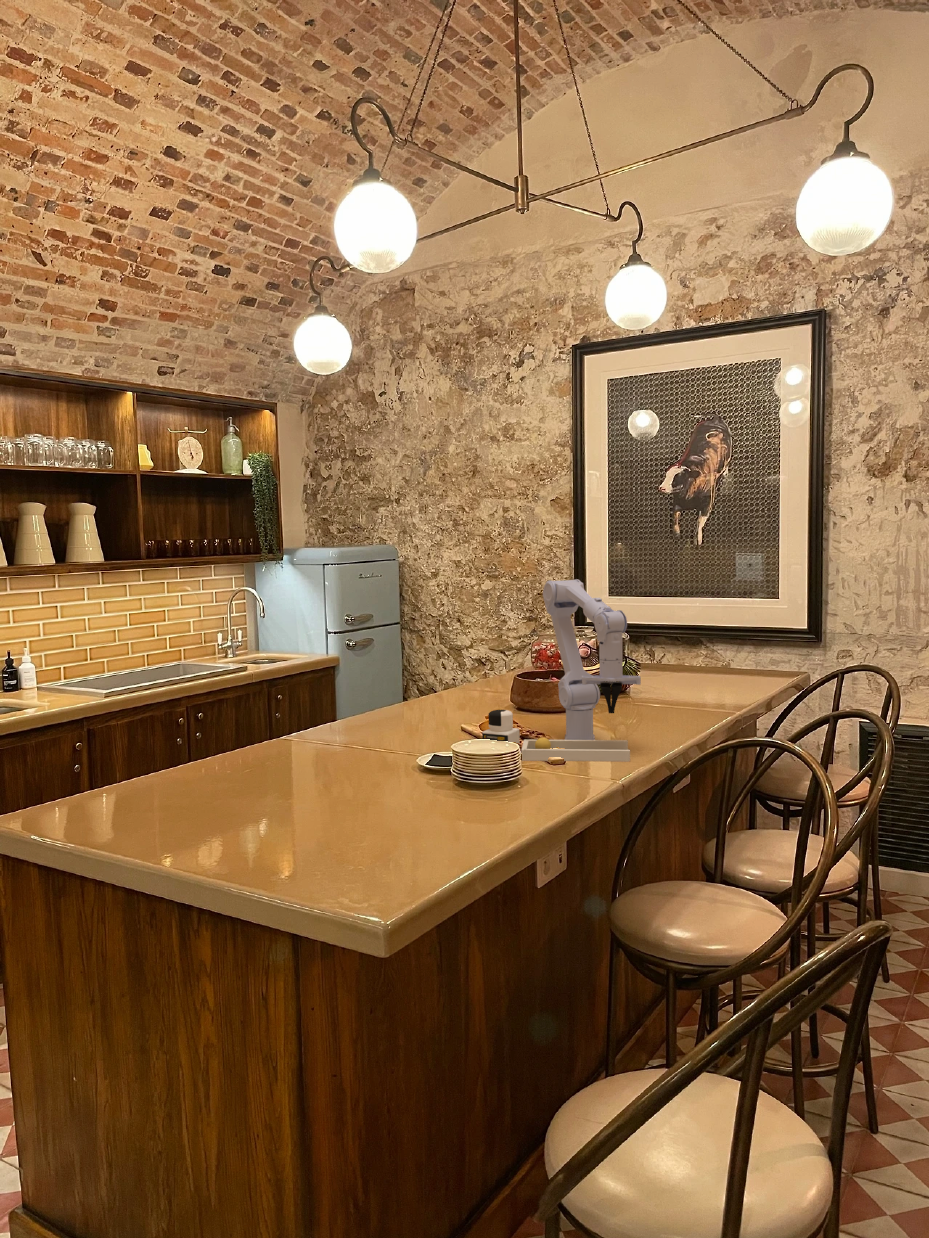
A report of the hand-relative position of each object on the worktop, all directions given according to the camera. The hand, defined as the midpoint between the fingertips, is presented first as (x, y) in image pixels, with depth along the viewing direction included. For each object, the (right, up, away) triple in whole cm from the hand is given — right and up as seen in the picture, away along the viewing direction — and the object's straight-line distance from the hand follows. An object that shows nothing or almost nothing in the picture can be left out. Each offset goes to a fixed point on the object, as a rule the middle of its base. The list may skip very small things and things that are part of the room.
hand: (611, 712), depth 239 cm
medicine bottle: (-28, -11, -2) cm, 30 cm away
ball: (-15, -9, +1) cm, 18 cm away
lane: (-9, -11, -2) cm, 14 cm away
